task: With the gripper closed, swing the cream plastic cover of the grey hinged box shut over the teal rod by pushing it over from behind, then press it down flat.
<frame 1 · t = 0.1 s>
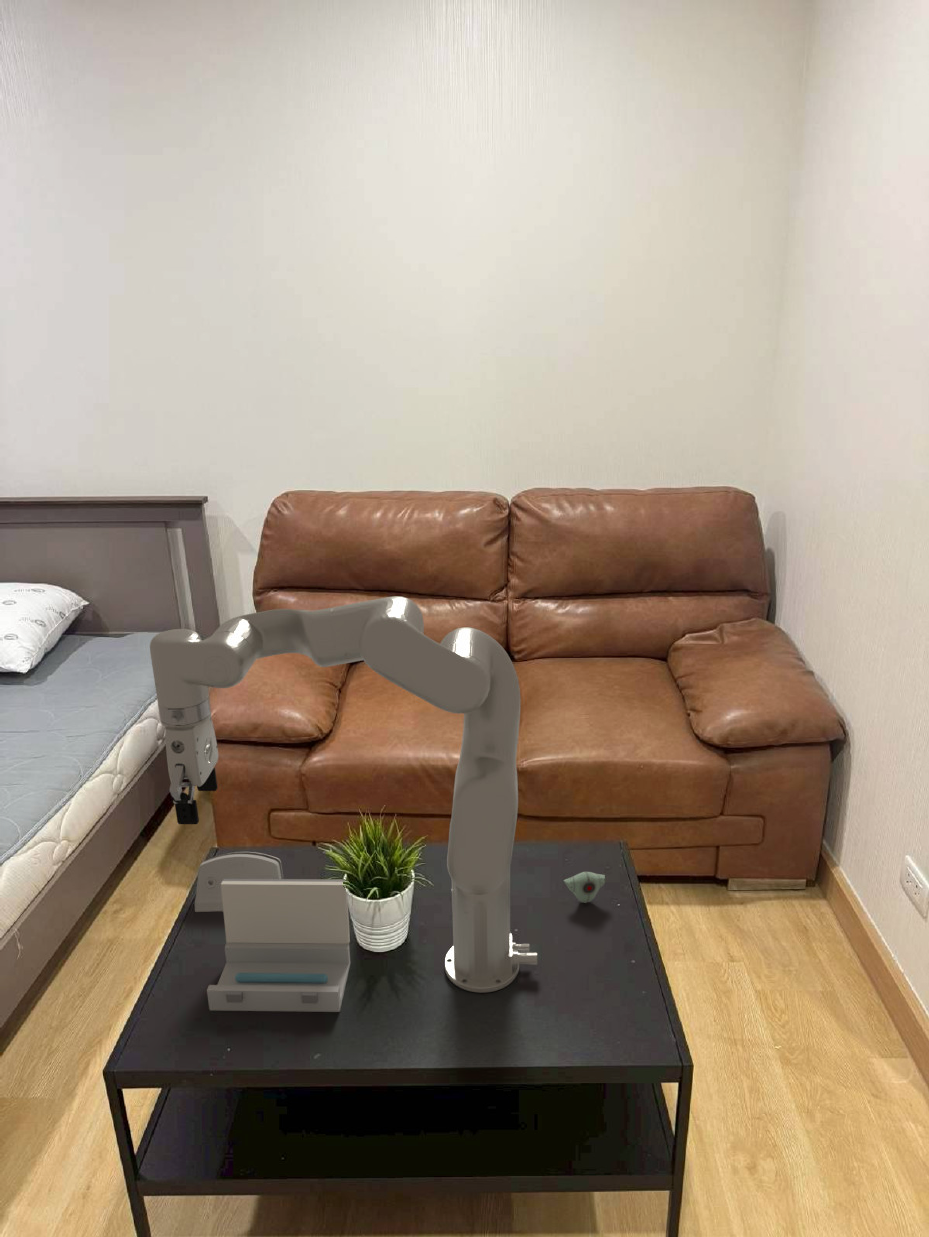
hand: (198, 806, 143), 31 cm above the table, fingers open, 9 cm apart
duct cover: (286, 911, 151), point 10 cm above the table, hinge at 95.0°
grey hinged box: (282, 986, 148), on the table
teal rod: (281, 981, 148), point 1 cm above the table, touching grey hinged box
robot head: (585, 904, 167), on the table
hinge: (242, 899, 171), on the table
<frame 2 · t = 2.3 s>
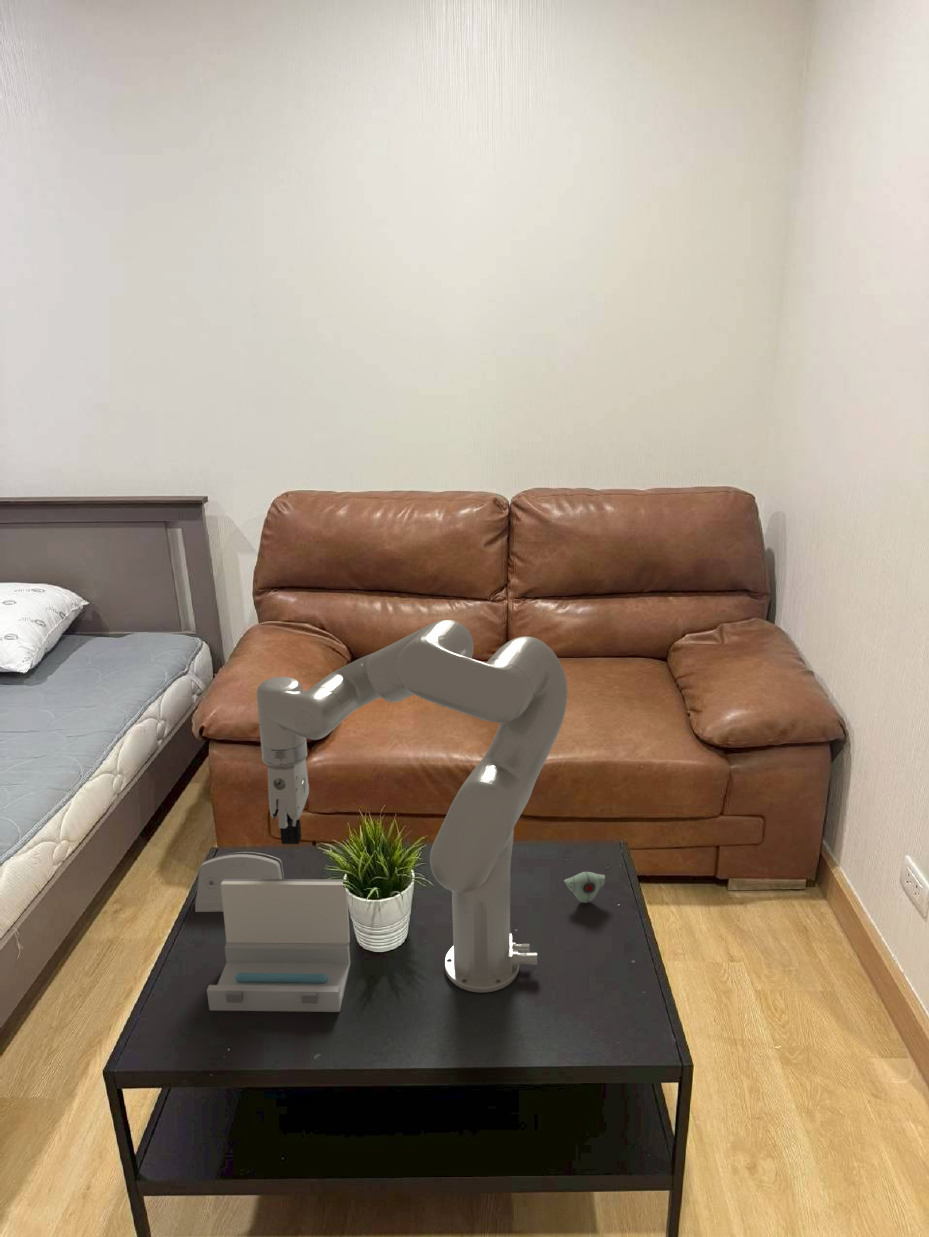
hand: (291, 841, 158), 17 cm above the table, fingers closed
nothing on the table moved.
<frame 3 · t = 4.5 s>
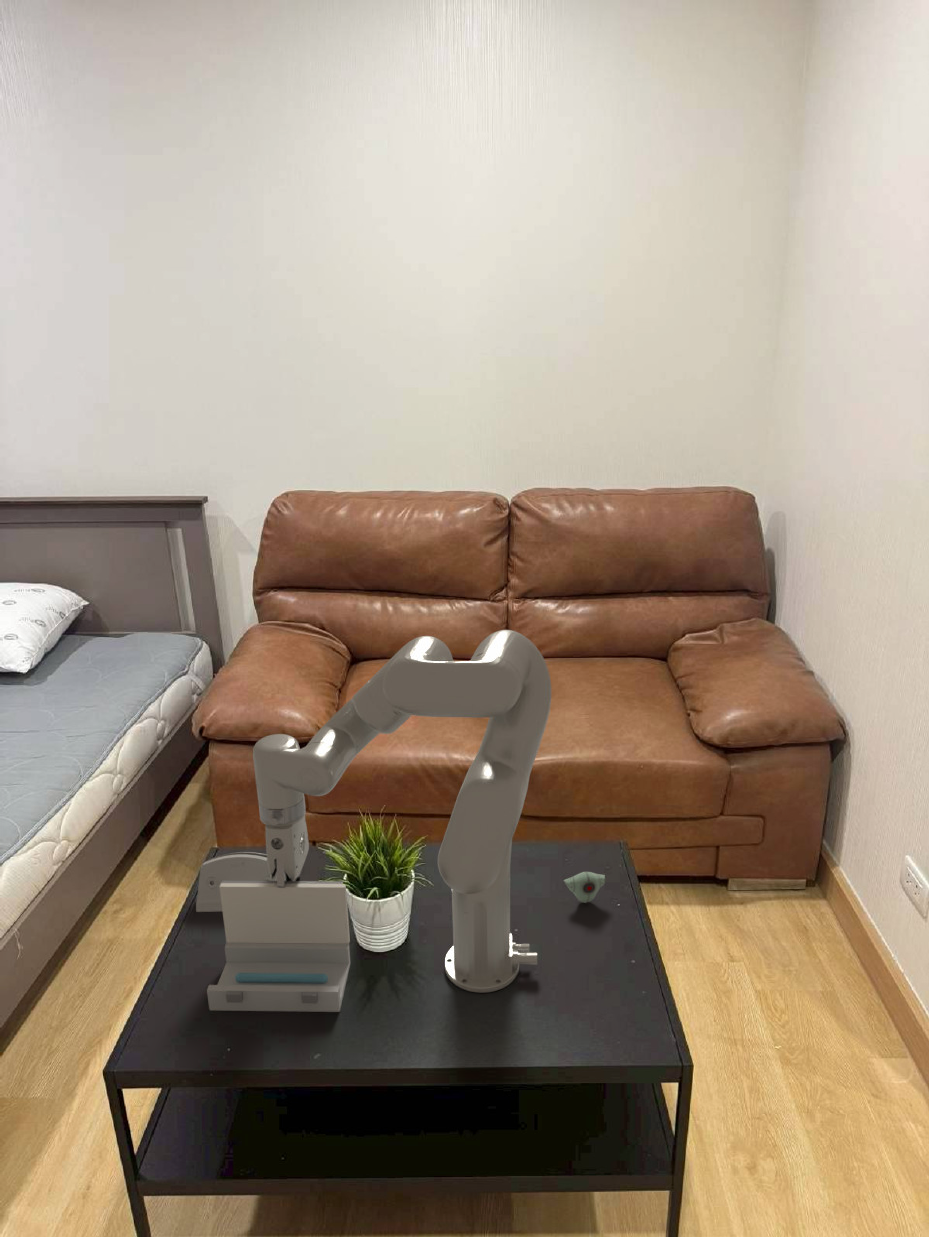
hand: (291, 898, 155), 9 cm above the table, fingers closed
duct cover: (285, 912, 151), point 10 cm above the table, hinge at 91.3°, touching gripper
everything else where it was.
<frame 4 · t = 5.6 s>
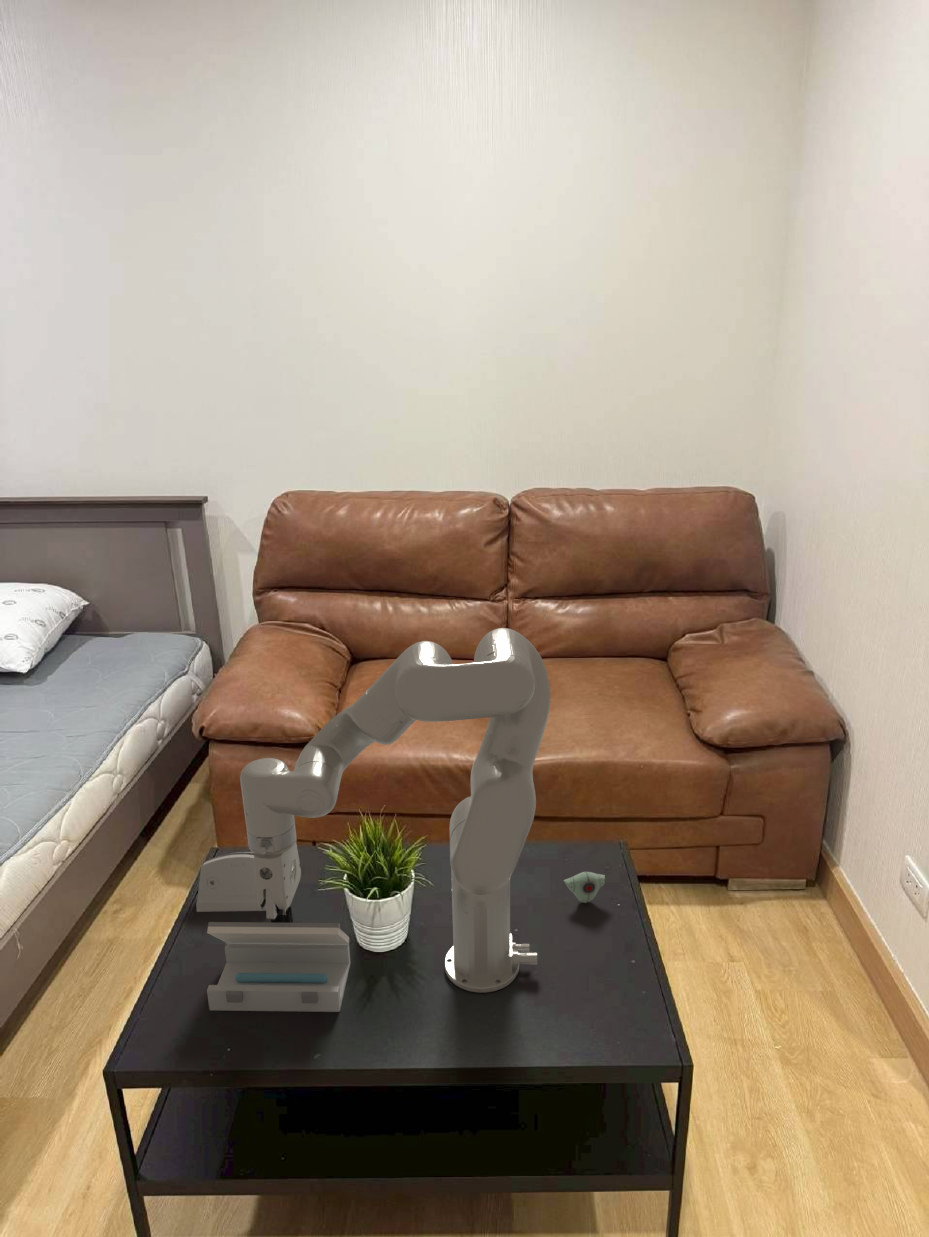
hand: (282, 929, 148), 9 cm above the table, fingers closed
duct cover: (280, 933, 147), point 9 cm above the table, hinge at 47.1°, touching gripper
everything else where it was.
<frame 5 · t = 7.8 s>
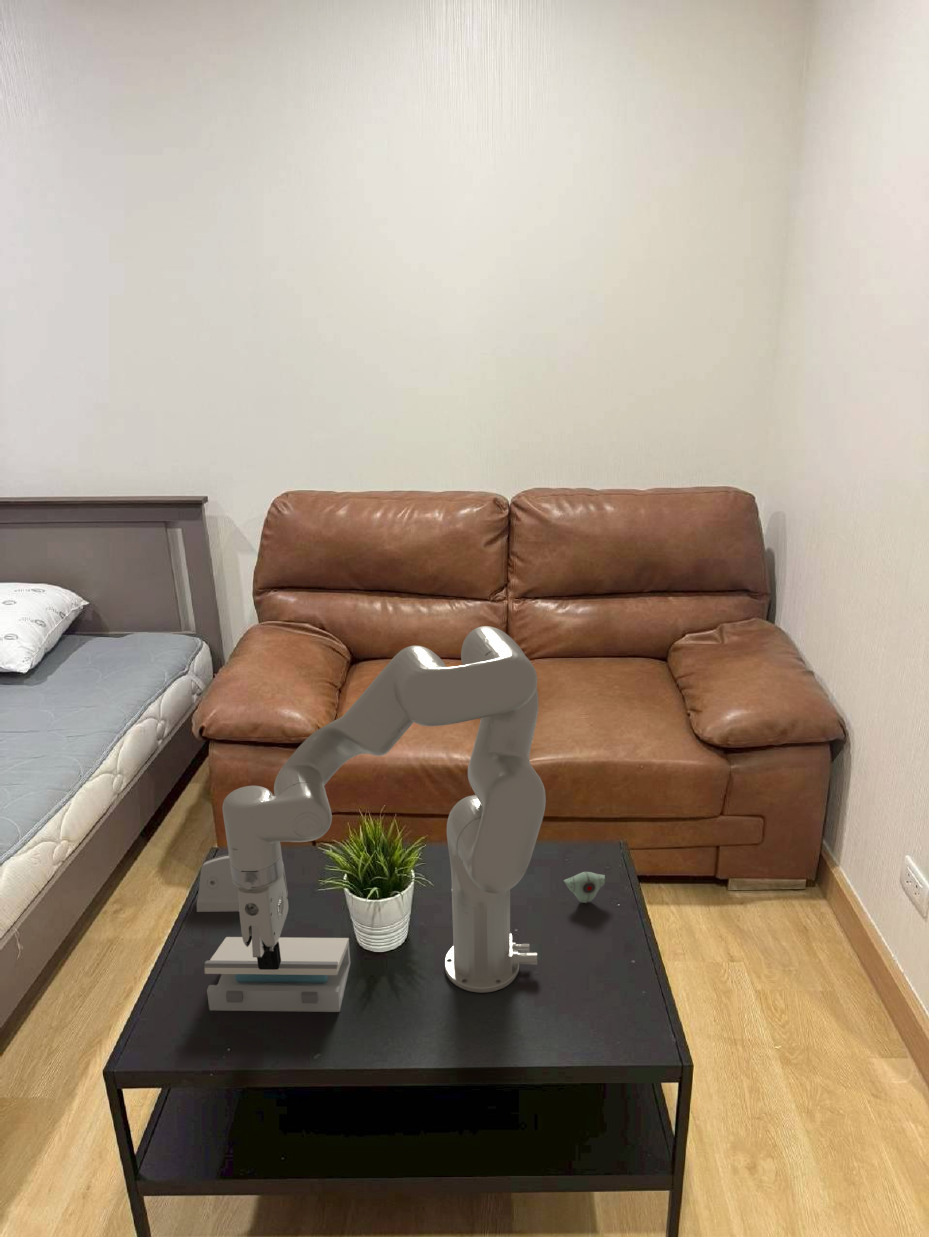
hand: (269, 965, 140), 9 cm above the table, fingers closed
duct cover: (279, 953, 146), point 6 cm above the table, hinge at 15.6°
everything else where it was.
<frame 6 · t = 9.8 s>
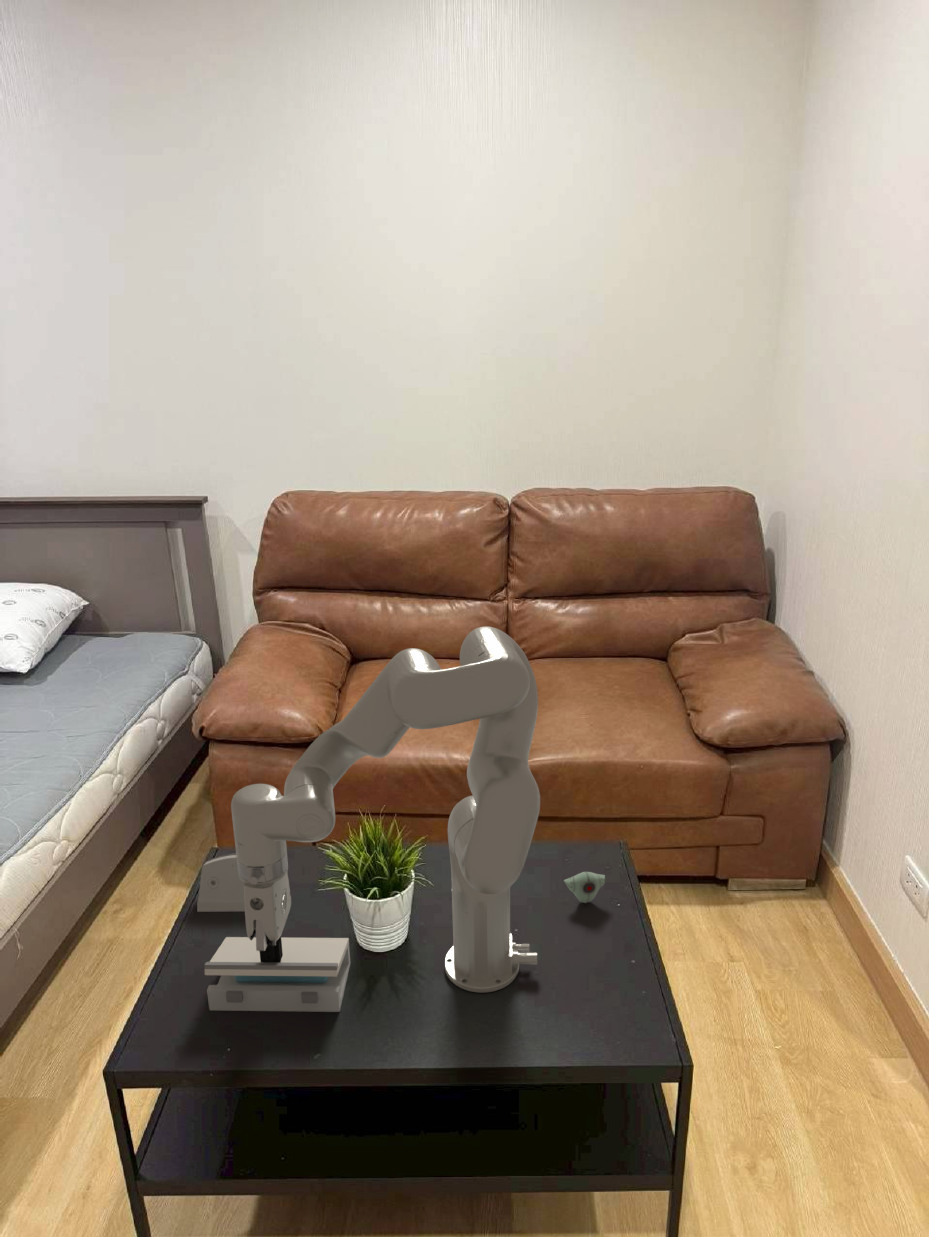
hand: (271, 959, 143), 8 cm above the table, fingers closed
duct cover: (279, 953, 146), point 6 cm above the table, hinge at 14.4°, touching gripper
everything else where it was.
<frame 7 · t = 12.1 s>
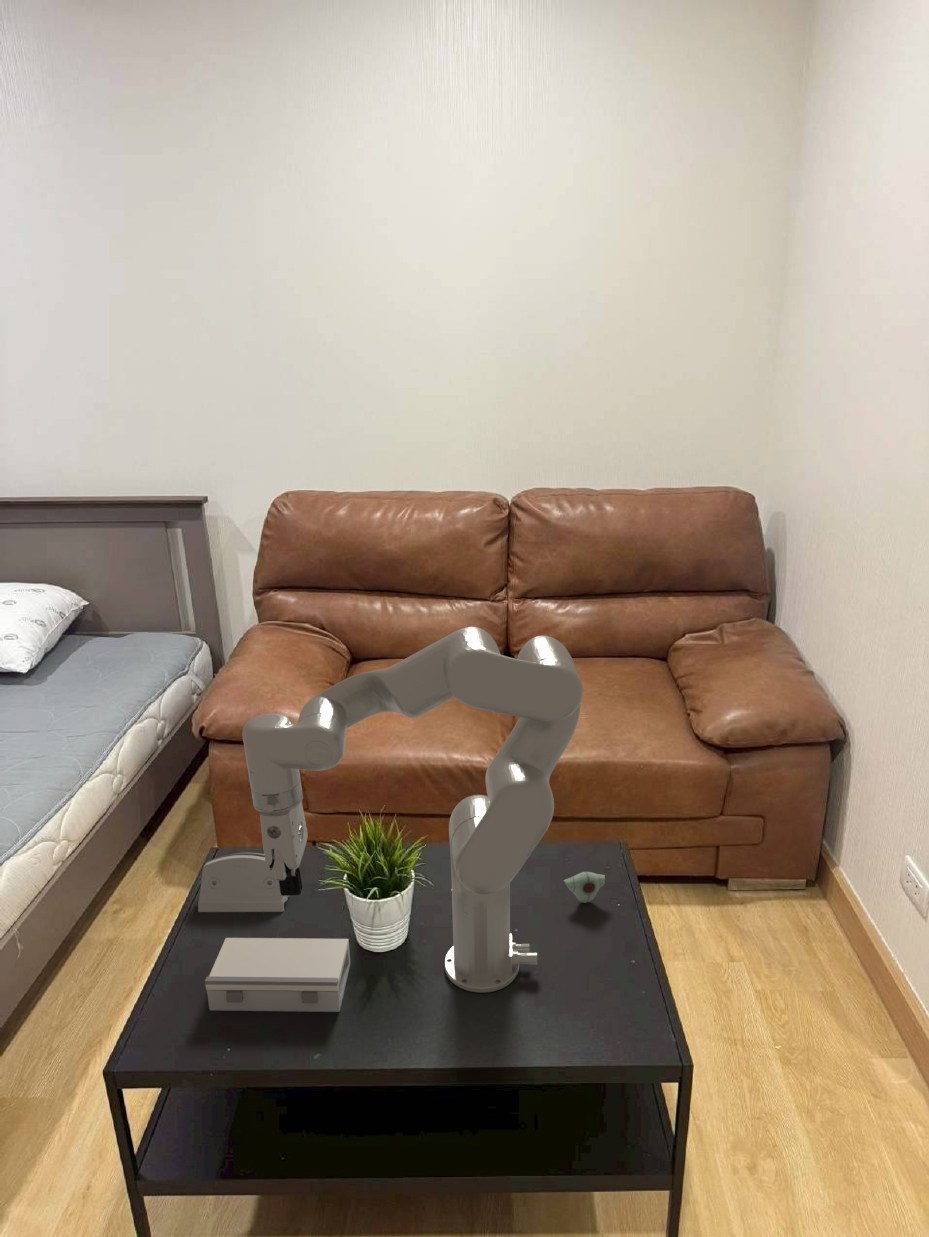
hand: (291, 892, 144), 18 cm above the table, fingers closed
duct cover: (279, 961, 146), point 5 cm above the table, hinge at 1.2°
everything else where it was.
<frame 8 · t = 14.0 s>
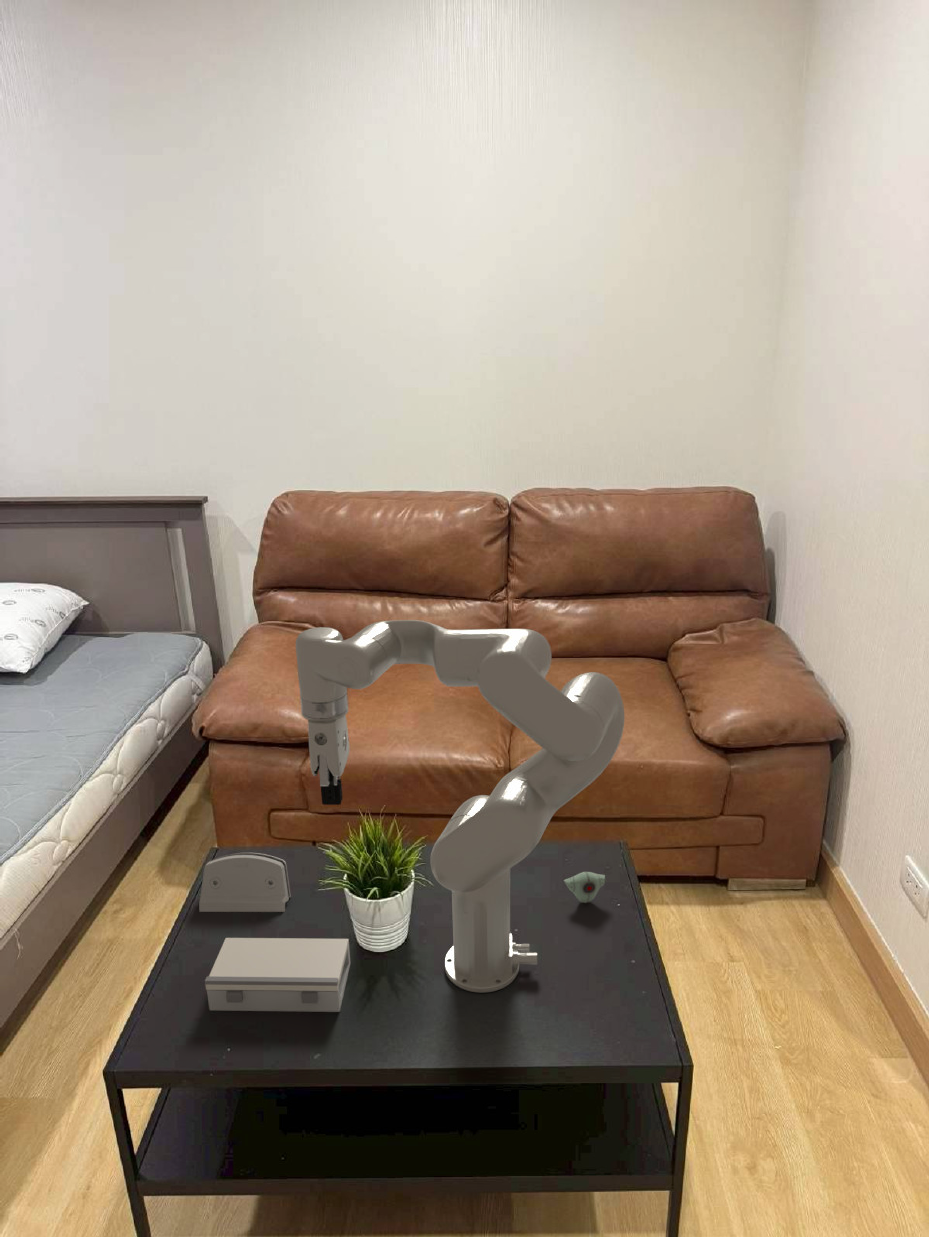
hand: (332, 802, 151), 27 cm above the table, fingers closed
at the end: duct cover at +1° (first picture: +95°); teal rod inside the target area on the grey hinged box (0.0 cm from its centre), point 1.0 cm above the grey hinged box's base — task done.
